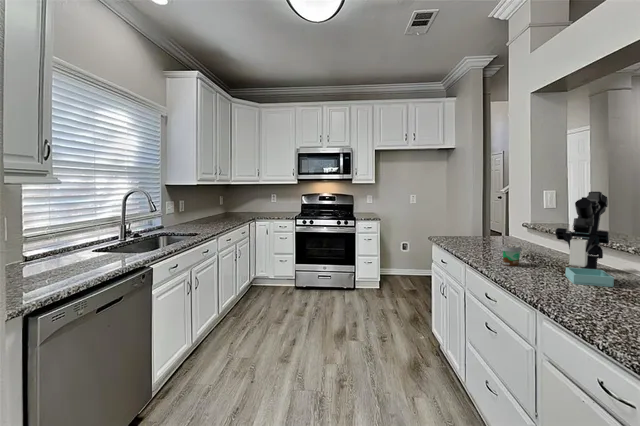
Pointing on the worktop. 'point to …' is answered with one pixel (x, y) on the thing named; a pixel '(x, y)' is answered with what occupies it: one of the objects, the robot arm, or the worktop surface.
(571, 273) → the crate
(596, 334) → the worktop surface
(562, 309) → the worktop surface
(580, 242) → the white hollow square box
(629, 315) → the worktop surface
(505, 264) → the food container
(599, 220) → the robot arm
